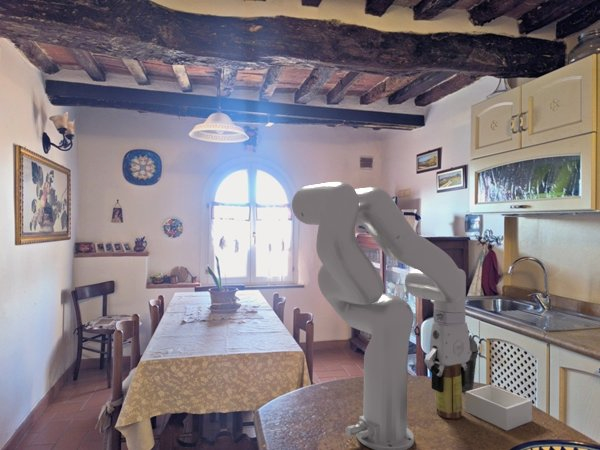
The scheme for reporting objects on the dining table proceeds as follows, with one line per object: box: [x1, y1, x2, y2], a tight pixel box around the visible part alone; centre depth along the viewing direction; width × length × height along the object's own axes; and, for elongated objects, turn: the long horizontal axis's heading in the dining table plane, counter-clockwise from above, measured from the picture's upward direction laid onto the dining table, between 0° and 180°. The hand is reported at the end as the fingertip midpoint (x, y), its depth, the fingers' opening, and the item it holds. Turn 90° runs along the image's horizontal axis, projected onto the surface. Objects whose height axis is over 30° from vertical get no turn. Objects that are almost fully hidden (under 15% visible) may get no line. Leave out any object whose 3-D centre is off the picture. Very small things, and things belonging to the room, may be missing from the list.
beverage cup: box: [461, 335, 479, 392], centre depth 117 cm, size 7×7×20 cm
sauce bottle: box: [434, 360, 463, 420], centre depth 100 cm, size 7×6×20 cm
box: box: [464, 384, 533, 431], centre depth 100 cm, size 10×11×5 cm
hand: (448, 387), depth 100 cm, fingers open, 7 cm apart
